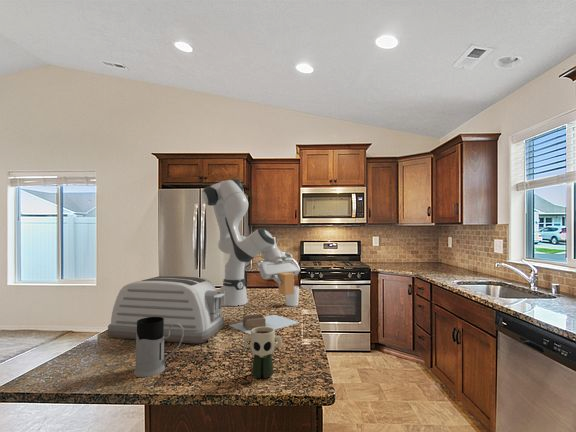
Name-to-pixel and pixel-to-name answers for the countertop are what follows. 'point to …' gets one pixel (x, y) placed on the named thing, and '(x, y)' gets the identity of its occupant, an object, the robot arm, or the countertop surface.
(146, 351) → the glass holder
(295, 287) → the white cup
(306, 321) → the countertop surface
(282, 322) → the board
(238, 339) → the countertop surface
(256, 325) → the walnut plinth
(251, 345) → the character mug
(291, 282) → the orange block
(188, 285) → the toaster
